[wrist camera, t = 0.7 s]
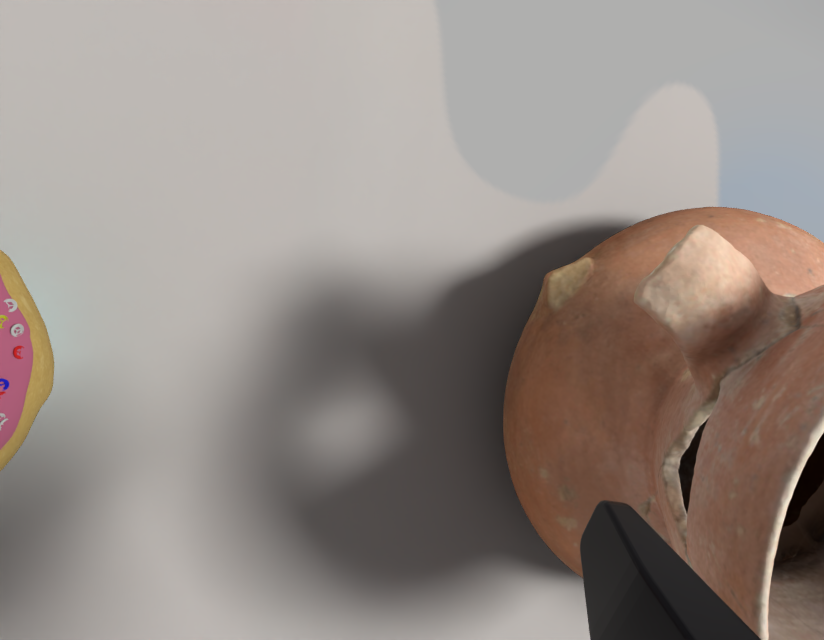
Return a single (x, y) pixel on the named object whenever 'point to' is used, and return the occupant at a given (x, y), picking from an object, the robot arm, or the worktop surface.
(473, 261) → the worktop surface
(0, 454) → the cupcake
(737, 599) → the ceramic jug
